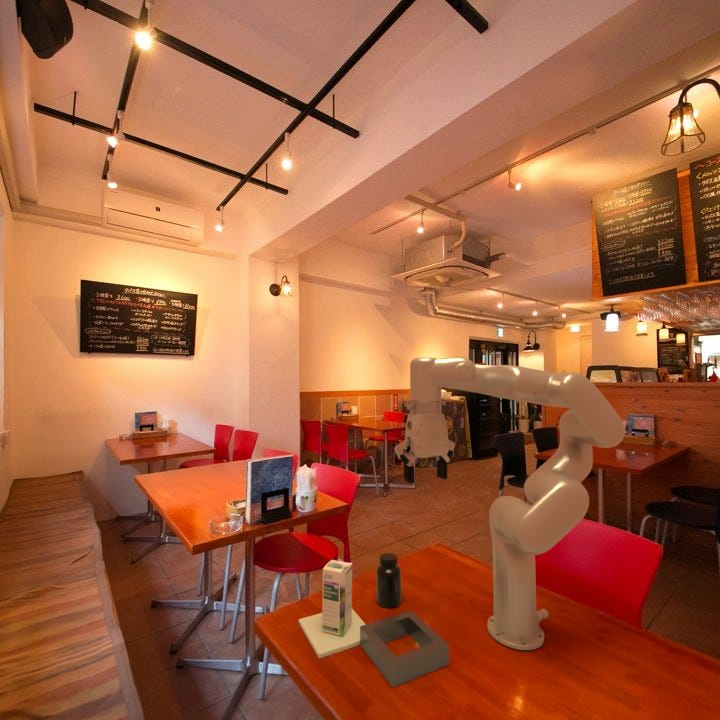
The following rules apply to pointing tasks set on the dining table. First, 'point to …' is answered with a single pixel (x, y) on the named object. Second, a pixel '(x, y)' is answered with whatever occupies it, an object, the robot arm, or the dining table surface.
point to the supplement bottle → (388, 581)
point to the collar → (409, 663)
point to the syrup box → (337, 597)
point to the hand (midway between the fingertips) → (426, 480)
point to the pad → (330, 635)
